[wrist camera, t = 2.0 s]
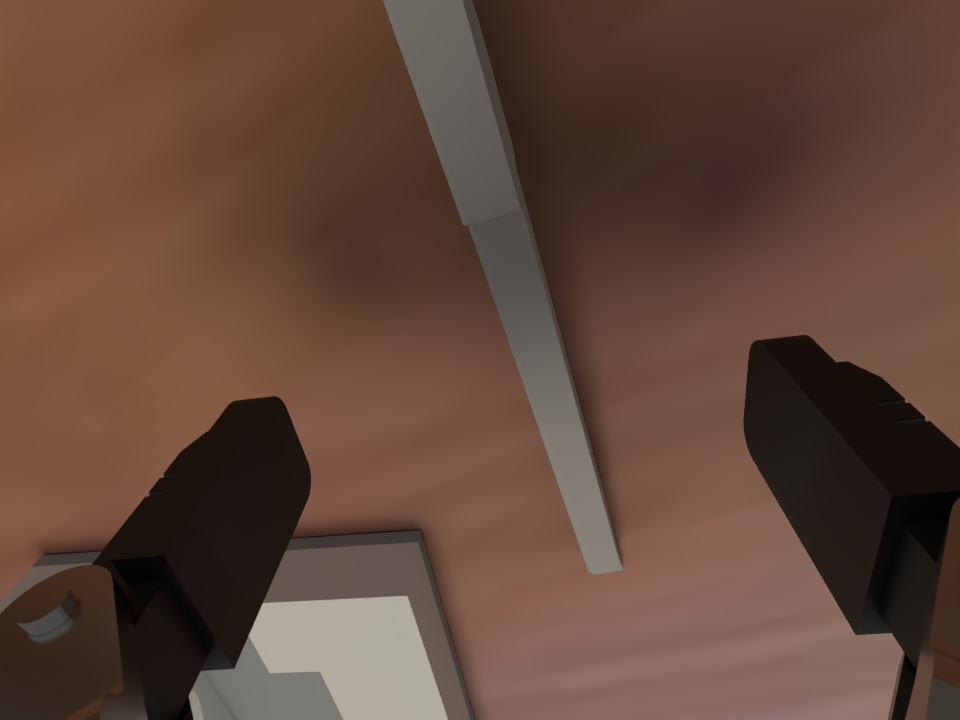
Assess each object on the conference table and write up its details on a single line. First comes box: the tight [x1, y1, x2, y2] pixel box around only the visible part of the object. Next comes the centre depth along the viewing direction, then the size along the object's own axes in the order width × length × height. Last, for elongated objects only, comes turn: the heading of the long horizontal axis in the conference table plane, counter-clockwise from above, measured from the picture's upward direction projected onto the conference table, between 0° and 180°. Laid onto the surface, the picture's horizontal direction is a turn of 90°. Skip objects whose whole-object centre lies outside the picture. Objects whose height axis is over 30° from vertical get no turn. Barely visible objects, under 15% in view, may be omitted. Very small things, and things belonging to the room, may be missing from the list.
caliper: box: [383, 0, 623, 575], centre depth 12 cm, size 21×1×6 cm, turn 17°
